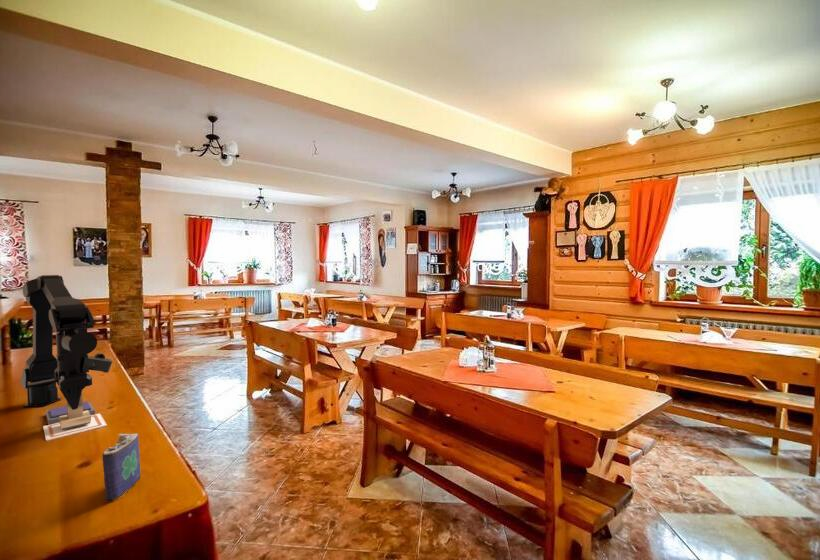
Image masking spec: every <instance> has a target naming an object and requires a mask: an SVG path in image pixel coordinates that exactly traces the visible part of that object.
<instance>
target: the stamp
mask: <svg viewBox="0 0 820 560" xmlns="http://www.w3.org/2000/svg"><path fill="white" fill-rule="evenodd" d="M65 400H66V399H65ZM82 402H83V394H82V393H81V397H80V401H79V405H78V408H77V409H74V410H72V408H71V407H70V405H69V403H68V402H67V400H66V405H67V415H64V416H59V420H60V422H59V423H60V425H61V429H62V430H63V429H67V428H72V427H76V426H80V425H85V424H89V423H90V422H91V415H90V413H89V411H88V410H87V411H83V404H82Z"/></svg>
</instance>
